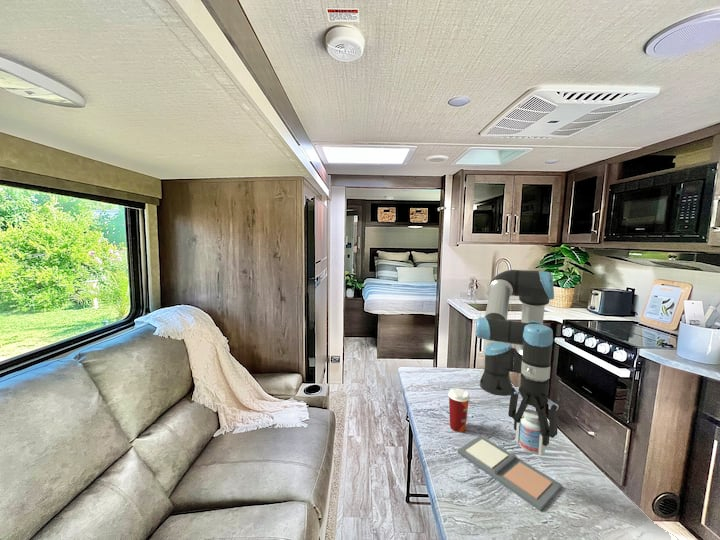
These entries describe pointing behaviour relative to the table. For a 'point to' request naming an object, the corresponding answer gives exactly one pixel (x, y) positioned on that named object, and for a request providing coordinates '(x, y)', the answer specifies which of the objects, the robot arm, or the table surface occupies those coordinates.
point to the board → (511, 472)
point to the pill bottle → (530, 431)
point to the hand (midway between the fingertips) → (529, 446)
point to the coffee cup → (458, 409)
